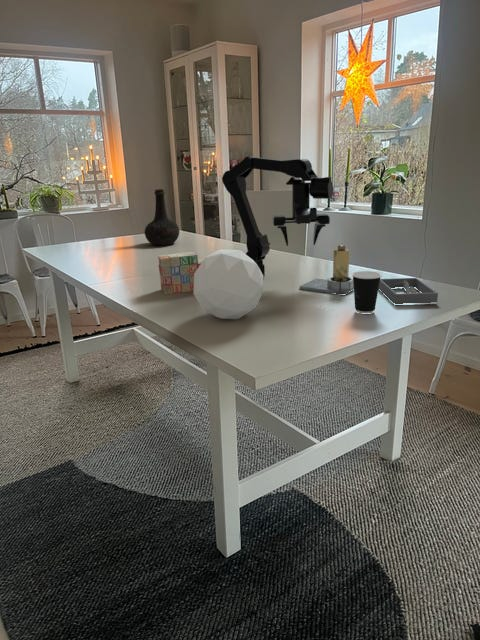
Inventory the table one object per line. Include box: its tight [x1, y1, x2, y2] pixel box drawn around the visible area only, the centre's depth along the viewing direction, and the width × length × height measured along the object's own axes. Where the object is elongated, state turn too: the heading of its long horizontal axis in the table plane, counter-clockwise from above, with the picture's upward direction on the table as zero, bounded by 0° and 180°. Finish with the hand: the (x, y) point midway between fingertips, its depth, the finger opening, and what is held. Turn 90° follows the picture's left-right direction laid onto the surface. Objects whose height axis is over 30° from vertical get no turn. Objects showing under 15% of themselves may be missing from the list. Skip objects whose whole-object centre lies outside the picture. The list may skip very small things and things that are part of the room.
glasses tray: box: [379, 277, 439, 304], centre depth 148 cm, size 12×18×4 cm
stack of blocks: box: [157, 251, 205, 295], centre depth 165 cm, size 21×6×12 cm, turn 107°
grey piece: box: [299, 276, 354, 295], centre depth 161 cm, size 16×12×4 cm
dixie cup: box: [351, 270, 383, 313], centre depth 134 cm, size 8×8×11 cm
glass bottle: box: [144, 188, 180, 246], centre depth 249 cm, size 18×18×28 cm
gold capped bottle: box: [332, 244, 350, 282], centre depth 157 cm, size 5×5×14 cm
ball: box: [193, 249, 264, 320], centre depth 133 cm, size 19×20×20 cm
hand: (300, 245), depth 166 cm, fingers open, 9 cm apart
